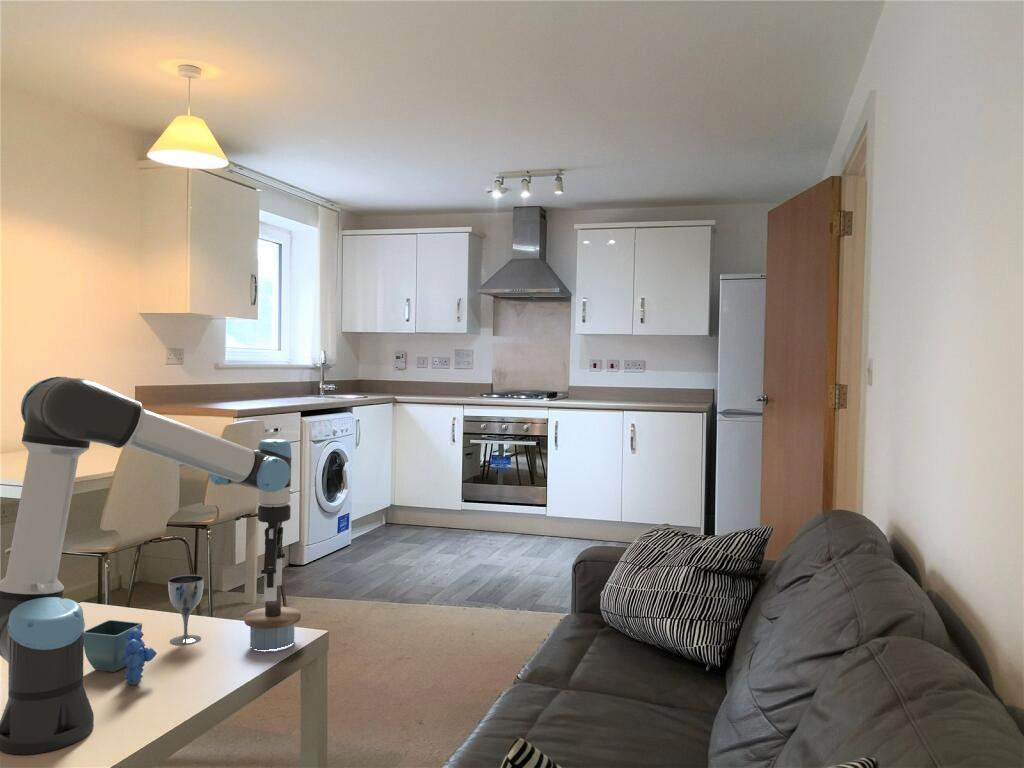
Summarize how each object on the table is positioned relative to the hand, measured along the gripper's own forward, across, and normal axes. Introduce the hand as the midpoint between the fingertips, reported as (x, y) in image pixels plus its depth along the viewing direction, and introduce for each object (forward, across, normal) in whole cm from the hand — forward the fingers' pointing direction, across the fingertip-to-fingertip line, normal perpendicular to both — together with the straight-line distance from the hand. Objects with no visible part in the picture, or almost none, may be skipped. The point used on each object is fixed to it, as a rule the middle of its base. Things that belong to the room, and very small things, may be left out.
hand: (273, 592), depth 190 cm
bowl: (+13, 0, 0) cm, 13 cm away
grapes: (+13, -20, +25) cm, 34 cm away
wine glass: (+13, +6, +21) cm, 25 cm away
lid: (+7, 0, 0) cm, 7 cm away
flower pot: (+13, -10, +33) cm, 37 cm away
